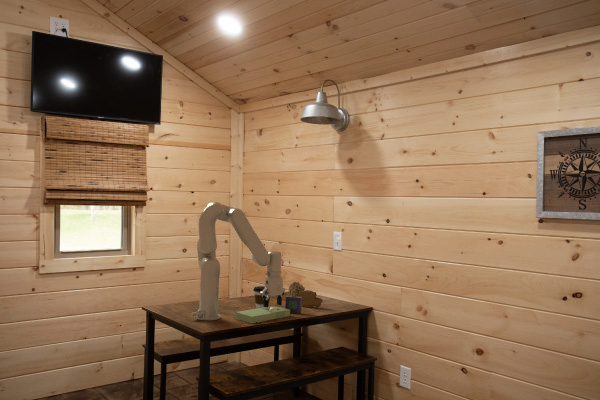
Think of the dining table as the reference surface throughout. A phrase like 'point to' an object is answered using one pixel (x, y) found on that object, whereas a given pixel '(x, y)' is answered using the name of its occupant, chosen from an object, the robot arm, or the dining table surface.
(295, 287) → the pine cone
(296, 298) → the blue box
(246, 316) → the green tray with wells
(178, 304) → the dining table surface
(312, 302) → the wooden carving
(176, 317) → the dining table surface
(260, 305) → the coffee cup
